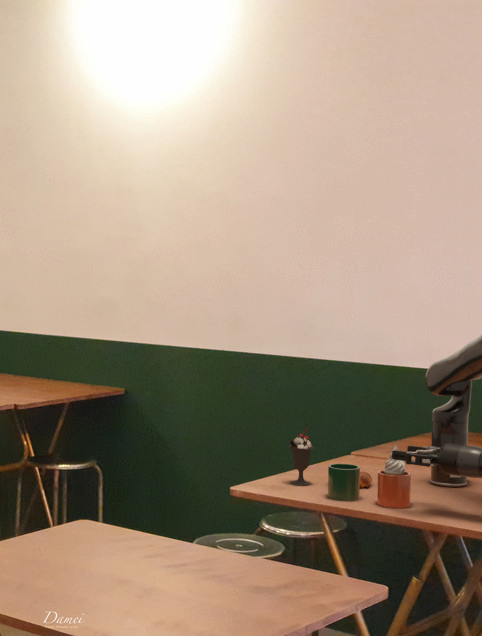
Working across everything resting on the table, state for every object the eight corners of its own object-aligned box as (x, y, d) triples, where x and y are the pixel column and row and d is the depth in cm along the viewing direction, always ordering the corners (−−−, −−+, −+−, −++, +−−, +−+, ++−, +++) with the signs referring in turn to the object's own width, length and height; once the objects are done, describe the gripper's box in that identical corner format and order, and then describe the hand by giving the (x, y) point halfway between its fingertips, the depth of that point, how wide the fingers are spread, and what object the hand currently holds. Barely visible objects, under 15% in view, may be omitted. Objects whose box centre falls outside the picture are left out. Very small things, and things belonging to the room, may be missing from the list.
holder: (382, 499, 278) (383, 468, 277) (413, 503, 274) (414, 471, 273) (373, 505, 271) (374, 473, 271) (405, 509, 267) (405, 477, 267)
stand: (333, 492, 286) (334, 462, 285) (363, 496, 282) (363, 465, 281) (323, 498, 279) (324, 467, 279) (353, 502, 275) (354, 470, 274)
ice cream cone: (405, 506, 270) (406, 445, 269) (384, 505, 271) (385, 445, 270) (403, 501, 274) (404, 442, 273) (382, 500, 275) (383, 441, 274)
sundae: (315, 482, 298) (316, 427, 297) (310, 486, 292) (311, 431, 291) (291, 479, 301) (292, 426, 300) (285, 484, 295) (286, 429, 294)
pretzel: (362, 480, 301) (362, 466, 301) (380, 488, 290) (380, 474, 290) (320, 481, 299) (321, 468, 299) (337, 490, 288) (338, 476, 288)
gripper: (477, 441, 265) (412, 433, 276) (453, 449, 254) (387, 440, 265) (476, 471, 265) (412, 462, 276) (452, 481, 255) (387, 471, 266)
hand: (400, 452), depth 271 cm, fingers open, 8 cm apart
